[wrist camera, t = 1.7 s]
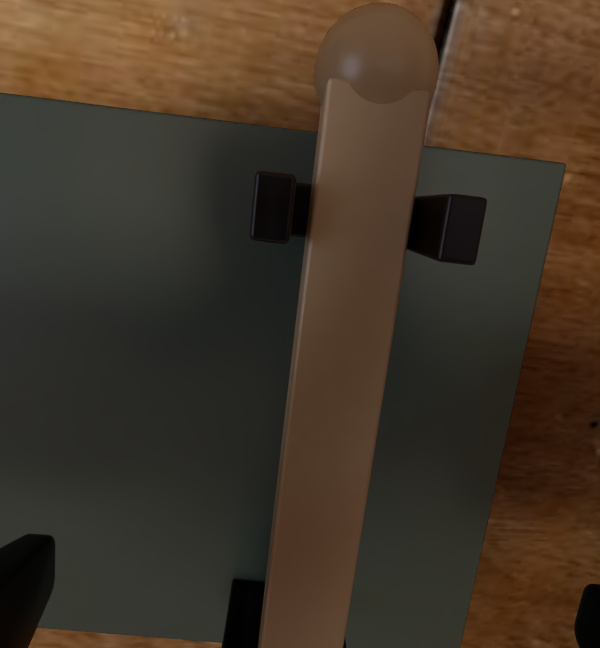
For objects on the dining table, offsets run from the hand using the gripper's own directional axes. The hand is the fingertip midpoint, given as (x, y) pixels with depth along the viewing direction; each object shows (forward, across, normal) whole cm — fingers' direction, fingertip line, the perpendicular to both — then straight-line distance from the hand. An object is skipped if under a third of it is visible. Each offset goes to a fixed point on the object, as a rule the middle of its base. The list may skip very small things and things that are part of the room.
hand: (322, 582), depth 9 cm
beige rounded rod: (+2, 0, 0) cm, 3 cm away
